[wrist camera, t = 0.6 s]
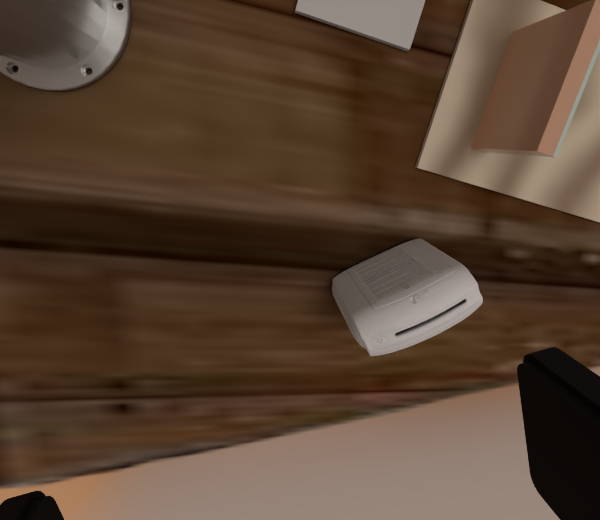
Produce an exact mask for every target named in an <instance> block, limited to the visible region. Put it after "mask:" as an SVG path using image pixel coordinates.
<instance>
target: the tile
mask: <svg viewBox="0 0 600 520" xmlns="http://www.w3.org/2000/svg"><path fill="white" fill-rule="evenodd" d="M599 51H600V0H591V1H588V2H586V3H583V4H581V5H578V6H576V7H573V8H571V9H568V10H566V11H563V12H561V13H558V14H556V15H553V16H551V17H548V18H546V19H543V20H541V21H538V22H536V23H533V24H531V25H528V26H526V27H523V28H521V29H518V30H516V31H513V32H512V34H511V36H510V39H509V42H508V45H507V48H506V50H505V53H504V56H503V59H502V62H501V65H500V67H499V70H498V73H497V76H496V79H495V81H494V84H493V87H492V90H491V93H490V95H489V98H488V101H487V104H486V107H485V109H484V112H483V115H482V118H481V121H480V123H479V126H478V129H477V132H476V135H475V137H474V140H473V143H472V146H471V148H473V149H476V150H479V151H482V152H486V153H497V154H513V155H528V156H543V157H557V156H558V153H559V151H560V148H561V146H562V143H563V141H564V138H565V136H566V133H567V131H568V128H569V126H570V123H571V121H572V118H573V116H574V113H575V111H576V108H577V106H578V103H579V101H580V98H581V96H582V93H583V91H584V88H585V86H586V83H587V81H588V78H589V76H590V73H591V71H592V68H593V66H594V63H595V61H596V58H597V56H598V53H599Z"/></svg>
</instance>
